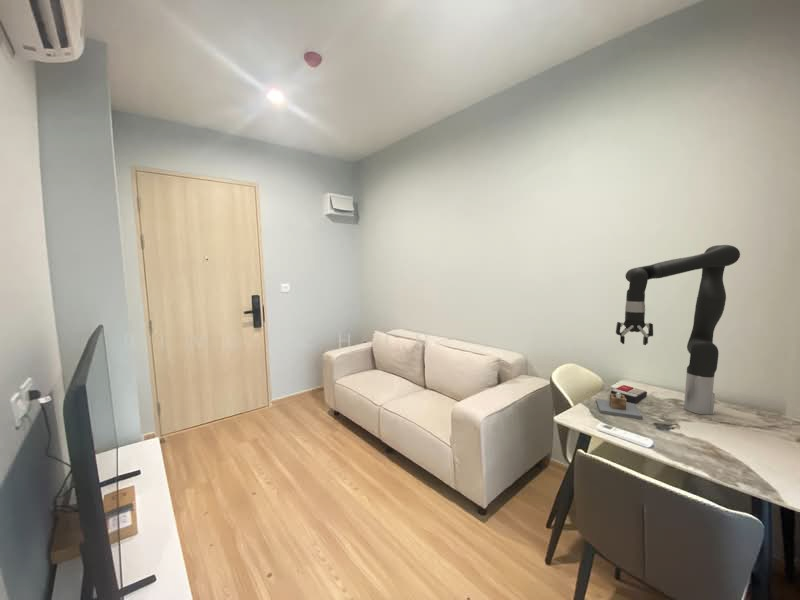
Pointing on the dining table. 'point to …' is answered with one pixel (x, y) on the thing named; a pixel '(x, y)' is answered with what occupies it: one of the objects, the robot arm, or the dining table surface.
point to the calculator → (630, 393)
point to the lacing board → (629, 412)
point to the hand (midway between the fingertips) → (633, 344)
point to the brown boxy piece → (617, 402)
